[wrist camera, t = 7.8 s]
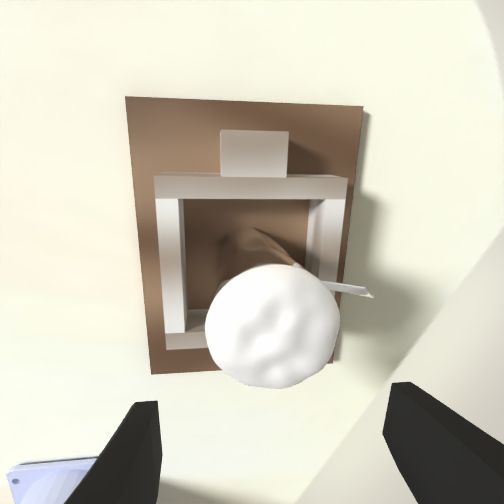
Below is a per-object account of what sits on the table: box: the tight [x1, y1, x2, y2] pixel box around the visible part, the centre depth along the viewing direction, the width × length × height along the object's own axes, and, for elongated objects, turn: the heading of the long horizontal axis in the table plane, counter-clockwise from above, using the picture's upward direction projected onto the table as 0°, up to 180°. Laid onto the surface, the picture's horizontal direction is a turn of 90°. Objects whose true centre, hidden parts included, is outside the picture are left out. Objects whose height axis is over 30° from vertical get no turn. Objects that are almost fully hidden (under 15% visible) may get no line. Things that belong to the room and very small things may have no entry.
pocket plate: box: [125, 96, 363, 375], centre depth 17 cm, size 16×12×3 cm
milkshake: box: [205, 228, 375, 389], centre depth 13 cm, size 4×5×10 cm
